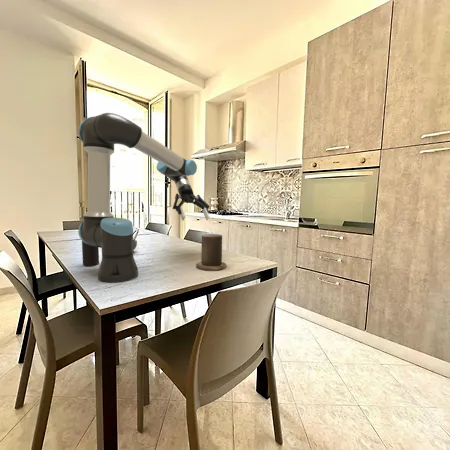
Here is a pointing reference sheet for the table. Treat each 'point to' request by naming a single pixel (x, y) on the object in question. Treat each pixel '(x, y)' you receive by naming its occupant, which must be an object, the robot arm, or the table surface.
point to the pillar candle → (211, 250)
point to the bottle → (90, 255)
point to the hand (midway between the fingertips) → (196, 218)
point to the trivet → (211, 267)
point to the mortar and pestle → (134, 244)
